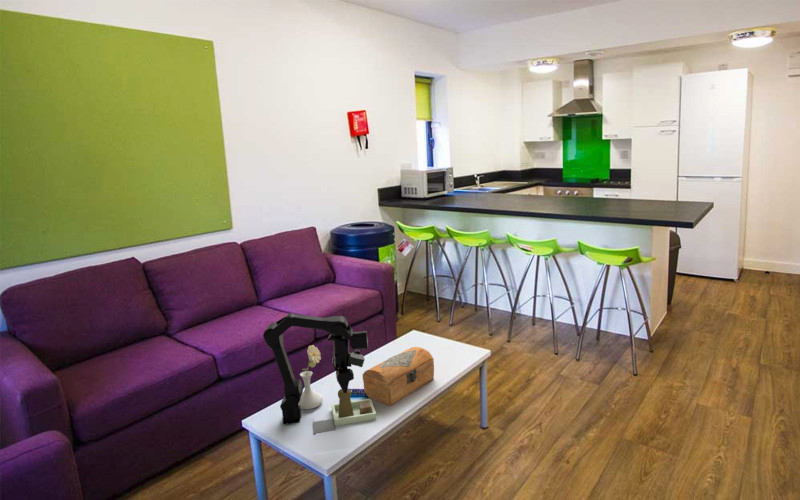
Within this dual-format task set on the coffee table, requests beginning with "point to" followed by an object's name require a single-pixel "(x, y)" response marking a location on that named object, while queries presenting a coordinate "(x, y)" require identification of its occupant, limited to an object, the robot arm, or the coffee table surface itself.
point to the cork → (345, 404)
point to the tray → (356, 411)
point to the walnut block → (365, 408)
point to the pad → (324, 426)
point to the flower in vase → (309, 396)
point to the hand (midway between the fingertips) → (343, 387)
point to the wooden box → (399, 376)
